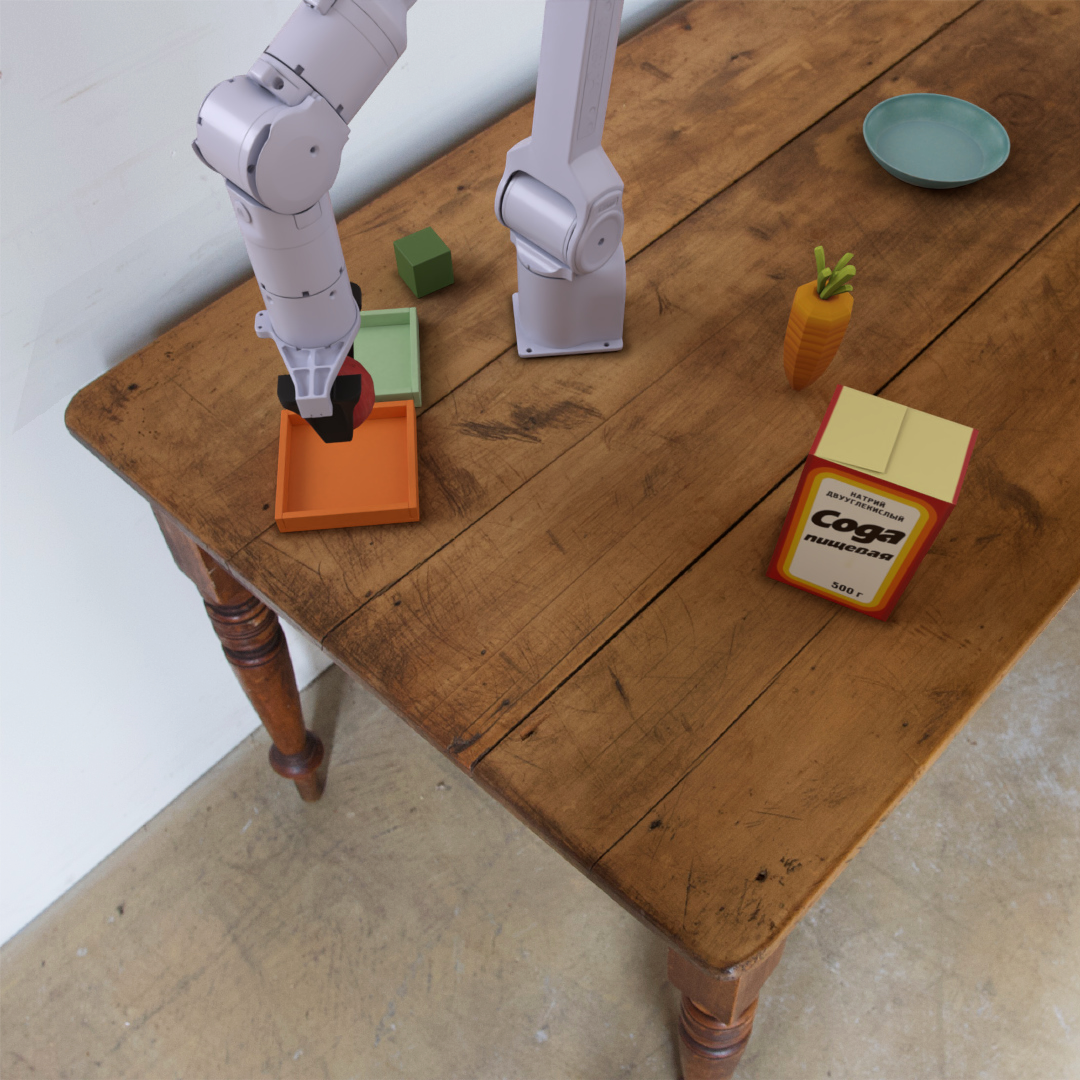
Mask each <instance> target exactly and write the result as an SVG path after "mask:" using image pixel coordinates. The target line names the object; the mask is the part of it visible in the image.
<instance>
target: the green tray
mask: <svg viewBox="0 0 1080 1080" xmlns="http://www.w3.org/2000/svg"><path fill="white" fill-rule="evenodd" d="M417 310H418V309H417V307H416V306H412V307H398V308H386V309H373V310H361V311H360V316H361V325H360V329H359V331H358V334H357V336H356V338H355V340H354V359H355V360H357V361H358V362H360V363H361V364H362V365H363V366H364V368H365V369H366V370H367V371H368V373H369V374H370V375H371V377H372V380H373V382H374V390H375V403H378V402H390V401H403V400H406V401H407V400H413V401H414V406H415V408H421V407H422V383H421V382H422V380H421V356H420V355H421V352H420V350H421V349H420V329H419V328H420V327H419V326H420V325H419V324H420V323H419V316H418V311H417Z"/></svg>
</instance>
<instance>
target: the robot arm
mask: <svg viewBox="0 0 1080 1080" xmlns="http://www.w3.org/2000/svg"><path fill="white" fill-rule="evenodd" d="M544 1H545V2H544V3H545V4H544V13H543V20H542V30H541V31H542V32H541V42H540V50H539V51H540V52H539V61H538V70H537V79H536V89H535V100H534V108H533V116H532V126H531V135H528V136H527V137H525V138H523V139H522V140H520V141H519V142H517V143H516V144H514V145H513V146H512V147H511V148H509V149H508V150H507V152H506V158H505V159H506V160H505V167H504V171H503V173H502V177H501V180H500V181H499V183H498V186H497V188H496V192H495V198H494V215H495V217H496V219H497V221H498V223H500V224H501V225H502V226H503V227H505V228H508V229H509V237H510V240H509V241H510V242H511V243H512V244H513V245H514V246H515V250H516V268H517V269H516V271H517V292H514V293H513V294H512V296H511V297H512V298H511V300H512V308H513V317H514V326H515V335H516V346H517V354H518V356H519V357H520V358H523V359H524V358H525V359H526V358H538V357H540V358H541V357H551V356H565V355H566V356H567V355H578V354H589V353H590V354H591V353H603V352H604V353H605V352H615V351H621V350H622V349H623V347H624V342H623V333H624V332H623V331H624V319H625V308H626V307H625V306H626V295H627V270H626V269H627V268H626V257H625V251H624V245H623V241H622V237H623V235H624V230H625V212H624V209H623V195H624V189H625V184H624V182H623V179H622V178H621V176H620V174H619V172H618V171H617V170H616V168H615V166H614V165H613V163H612V162H611V159H610V158H609V156H608V155H607V153H606V152H605V150H604V148H603V146H602V140H603V135H604V134H603V133H604V127H605V121H606V115H607V109H608V102H609V98H610V90H611V84H612V79H613V78H612V77H613V71H614V66H615V61H616V60H615V59H616V54H617V46H618V41H619V35H620V29H621V22H622V16H623V9H624V3H625V0H544ZM417 2H418V0H301V2H300V3H299V4H298V6H297V7H295V9H294V11H293V12H292V13H291V15H290V16H289V17H288V19H287V20H286V21H285V23H284V24H283V25H282V26H281V28H280V29H279V31H278V32H277V33H276V35H275V36H274V37H273V38H272V40H271V41H270V42H269V43H268V45H267V46H266V48H265V49H264V50H263V52H262V53H260V55H259V57H258V58H256V59H257V60H255V62H254V63H253V64H252V66H251V67H250V68H249V70H248V71H247V72H246V74H240V75H235V76H232V78H228V79H224V80H223V81H221V82H218V83H217V84H215V85H214V86H213V87H212V88H210V90H209V91H208V92H207V93H206V95H205V96H204V98H203V99H202V101H201V103H200V105H199V108H198V110H197V115H196V116H197V117H196V124H195V125H196V138H195V139H193V140H192V141H191V143H190V145H191V148H192V151H193V153H194V155H195V156H196V157H197V158H198V160H199V161H200V162H201V163H202V164H203V165H205V166H206V167H207V168H209V169H210V170H211V171H213V172H215V173H216V174H219V175H220V176H221V177H222V178H223V181H224V185H225V188H226V191H227V194H228V198H229V201H230V203H231V206H232V209H233V212H234V215H235V218H236V223H237V225H238V228H239V231H240V234H241V237H242V240H243V243H244V246H245V250H246V252H247V255H248V258H249V261H250V264H251V267H252V270H253V272H254V276H255V279H256V281H257V285H258V287H259V291H260V293H261V296H262V300H263V303H264V305H265V309H263V310H259V311H258V312H257V313H256V314H255V318H254V331H255V333H256V336H257V337H258V338H259V339H272V340H273V341H274V343H275V345H276V347H277V350H278V352H279V354H280V356H281V358H282V361H283V363H284V365H285V367H286V369H287V372H288V374H279V375H277V387H276V395H277V398H278V401H279V403H280V405H281V406H282V408H283V409H284V410H290V411H292V412H294V413H296V414H298V415H300V416H301V417H302V418H304V419H305V420H306V421H307V422H308V423H309V424H310V425H311V426H312V428H313V429H314V430H315V431H316V433H317V434H318V435H319V436H320V438H321V439H322V440H323V441H324V442H325V443H338V442H350V441H352V438H353V411H354V408H355V406H356V404H357V403H358V402H359V399H360V395H361V389H362V374H353V375H340V376H337V374H338V372H339V370H340V368H341V366H342V364H343V362H344V360H345V358H346V356H349V357H351V358H353V359H354V340H355V338H356V336H357V334H358V331H359V329H360V325H361V316H360V311H362V309H363V298H362V297H363V293H362V289H361V286H360V285H359V284H357V283H355V282H353V281H350V277H349V272H348V269H347V265H346V260H345V256H344V252H343V248H342V244H341V243H342V242H341V239H340V234H339V231H338V226H337V222H336V218H335V217H336V216H335V212H334V208H333V203H332V200H331V195H330V190H331V189H332V187H333V186H334V184H335V181H336V179H337V177H338V174H339V172H340V168H341V160H342V153H343V150H344V147H345V145H346V144H347V143H348V141H349V140H350V138H349V135H350V134H351V132H352V130H351V128H350V127H349V126H348V125H349V124H350V123H351V122H352V121H353V119H354V118H355V116H356V115H357V114H358V112H359V111H360V110H361V109H362V107H363V106H364V105H365V103H366V102H367V101H368V100H369V98H370V97H371V95H372V94H373V93H374V92H375V90H377V88H378V86H380V84H381V83H382V81H383V80H384V79H385V77H386V76H388V74H389V72H391V70H392V69H393V67H394V66H395V64H396V63H397V62H398V60H399V59H400V58H401V57H402V55H403V54H404V53H405V51H406V50H407V47H408V30H407V29H408V27H407V25H408V24H407V17H408V16H407V15H408V12H409V11H410V9H411V8H412V7H413V6H414V5H415V4H416V3H417Z"/></svg>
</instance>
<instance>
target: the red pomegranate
mask: <svg viewBox="0 0 1080 1080" xmlns="http://www.w3.org/2000/svg"><path fill="white" fill-rule="evenodd" d="M353 374H362V389H361V395H360V399H359V402H358V403H357V404H356V406H355V408H354V411H353V430H354V429H356V428H358V427H359V426H360V425H361V424H362V423H363V422H364V421H365V420H366V419H367V418H368V416H369V415H370V414H371V412H372V409H373V406H374V403H375V390H374V382H373V380H372V377H371V375H370V374H369V373H368V371H367V370H366V369H365V368H364V366H363V365H362V364H361V363H360V362H358V361H357V360H355V359H353V358H351V357H349V356H346V358H345V360H344V362H343V364H342V366H341V368H340V370H339V372H338V374H337V376H340V375H353ZM306 422H307V421H306ZM307 423H308V422H307Z"/></svg>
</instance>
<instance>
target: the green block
mask: <svg viewBox="0 0 1080 1080" xmlns="http://www.w3.org/2000/svg"><path fill="white" fill-rule="evenodd" d="M392 245H393V251H394V255H395V262H396V267H397V274H398V276H399V277H400V278H401V279H402V281H404V283H405V284H406V286H407V287H408V288H409V290H410V291H411V292H412V293H413V295H414V296H415V297H416V298H417V299H420V298H423V297H426V296H428V295H430V294H432V293H434V292H436V291H439V290H441V289H443V288H445V287H448V286H450V285H452V284H454V283H455V277H454V267H453V258H452V251H451V249H450V248H449V246H448V245H447V244H446V243H445V242H444V241H443V239H442V238H441V237H440V235H438V233H437V232H436V231H435V230H434V228H433V227H432V226H428V227H425V228H422V229H420V230H417V231H414V232H413V233H410V234H408V235H405V236H403V237H401V238H398V239H396V240H393V241H392Z"/></svg>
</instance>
